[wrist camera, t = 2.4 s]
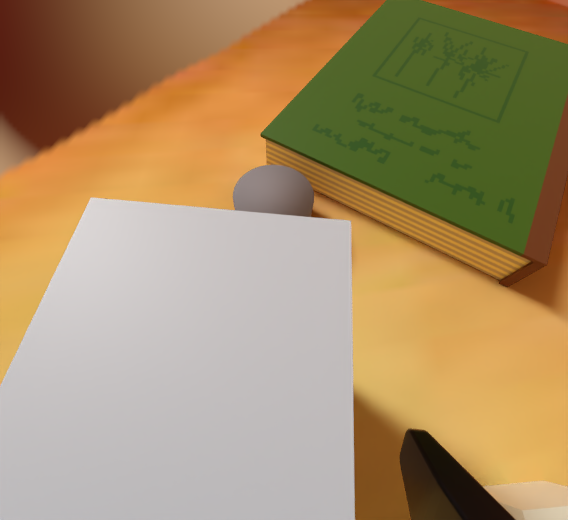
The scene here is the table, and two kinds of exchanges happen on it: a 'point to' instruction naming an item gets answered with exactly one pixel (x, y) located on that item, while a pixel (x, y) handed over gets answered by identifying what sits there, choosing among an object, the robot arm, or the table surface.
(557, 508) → the cream block
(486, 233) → the hardcover book
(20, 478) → the light grey block
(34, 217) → the table surface
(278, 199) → the grey rounded dome
